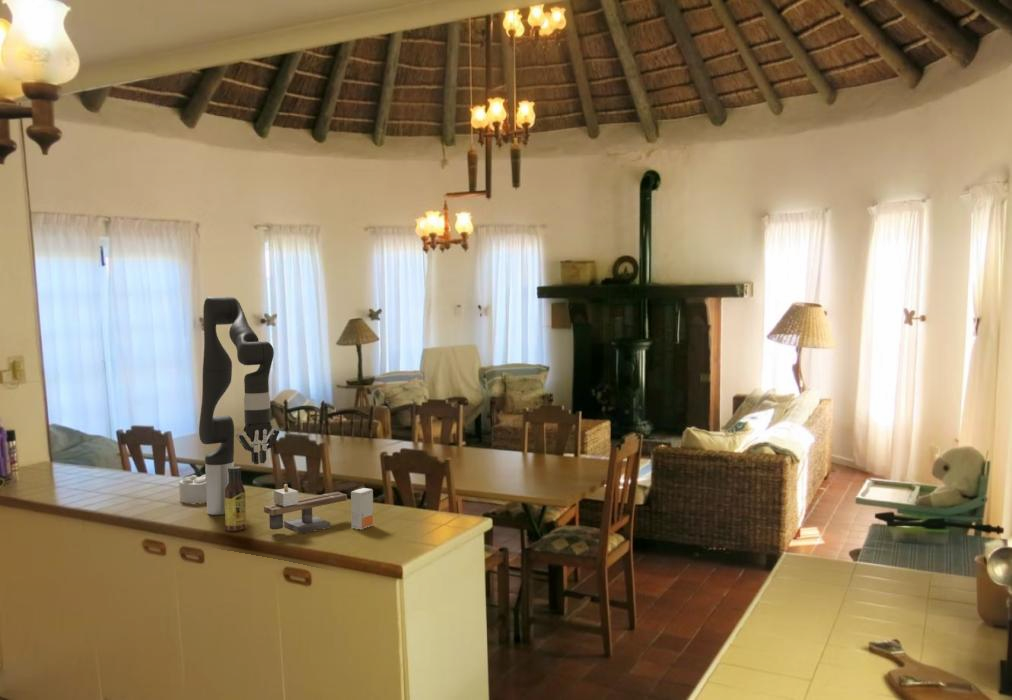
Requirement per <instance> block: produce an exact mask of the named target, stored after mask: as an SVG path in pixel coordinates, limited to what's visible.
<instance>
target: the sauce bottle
mask: <svg viewBox="0 0 1012 700" xmlns="http://www.w3.org/2000/svg"><path fill="white" fill-rule="evenodd" d="M241 472H242V467H241V466H234V467H229V468H228V473H229V483H228V485H227V487H226V488H225V514H224V515H225V516H224V524H225V530H226V531H227V530H228V531H227V532H237V531H238V530H239V531H242V529H243V530H244V529H245V528H246V523H247V511H246V510H247V506H246V504H247V503H246V502H247V501H246V500H247V499H246V490H245V487H244V484H243V481H242V473H241Z"/></svg>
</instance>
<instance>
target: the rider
mask: <svg viewBox="0 0 1012 700" xmlns="http://www.w3.org/2000/svg"><path fill="white" fill-rule="evenodd" d="M298 499H299V490H296V489H294V488H290V487H288V483H285V484H283V488H280V489H274V490H273V503H274V504H278V505H281V506H283V507H285V506H289V505H294V504H298Z"/></svg>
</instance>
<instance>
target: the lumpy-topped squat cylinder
mask: <svg viewBox="0 0 1012 700" xmlns="http://www.w3.org/2000/svg"><path fill="white" fill-rule="evenodd" d="M178 483H179V501H180V502H181V503H182V502H185V503H184V504H188V503H203V504H205V503H204V502H206V503H207V496H206V474H202V475H201V476H197V474H196V475H195V474H192V475H190V476H185V477H184V478H182V479H180V480H179V482H178Z"/></svg>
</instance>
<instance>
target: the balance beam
mask: <svg viewBox="0 0 1012 700" xmlns="http://www.w3.org/2000/svg"><path fill="white" fill-rule="evenodd" d="M346 501H348V494H346V493H343V492H340V491H334V492H329V493H328V492H327V493H323V494H319V495H314V496H309V497H304V498H298V504H294V505H289V506H285V507H283V506H281V505H278V504H276V503H274V504H273V503H272V504H269V505H264V506H263V512H264V513H265V514H268V515H269V529H270V530H280V529H282V528H284V527H285V526H286V527H285V528H287V527H288V529H289V528H290V530H292V531H294V530H295V532H296V531H297V532H296V533H298V532H299V534H301V533H302V534H301V535H304V534H303V533H305V534H307V533H306V532H309V533H311V532H310V531H313V532H315V531H314V530H318V531H320V530H319V529H322V530H324V529H323V528H326V529H329V528H328V527H330V528H331V527H332V526H331V525H332V524H331V522H330V521H328V520H326V519H323V518H320V517H318V516H315V515H313V508H316V507H322V506H327V505H331V504H336V503H341V502H346ZM297 511H301V517H298V518H297V517H296V518H293V519H287V520H285V521H284V514H287V513H288V514H289V513H293V512H297Z"/></svg>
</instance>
